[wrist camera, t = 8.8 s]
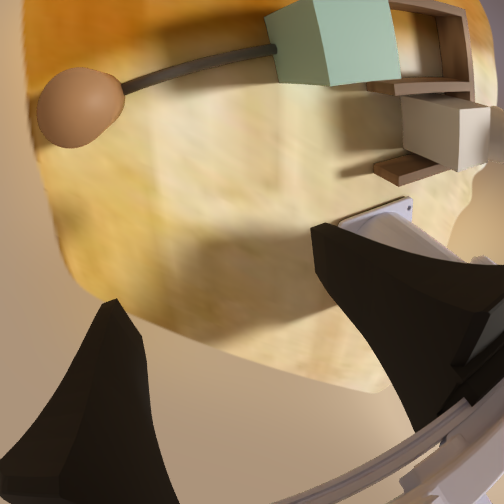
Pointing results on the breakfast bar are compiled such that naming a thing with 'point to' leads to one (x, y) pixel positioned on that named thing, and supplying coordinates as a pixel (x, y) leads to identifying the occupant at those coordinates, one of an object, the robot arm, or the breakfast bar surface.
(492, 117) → the salt shaker
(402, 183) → the walnut rack
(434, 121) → the grey block
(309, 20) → the tethered block
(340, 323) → the breakfast bar surface
